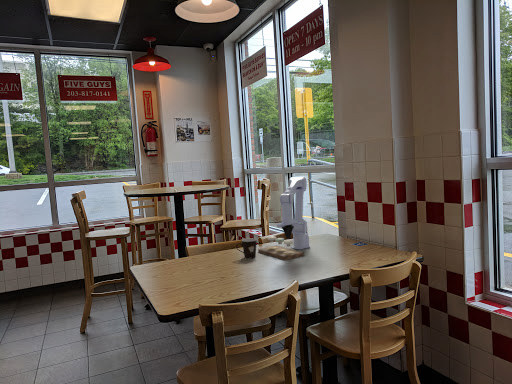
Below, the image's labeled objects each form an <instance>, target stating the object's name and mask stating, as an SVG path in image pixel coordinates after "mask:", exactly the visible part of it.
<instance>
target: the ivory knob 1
mask: <svg viewBox="0 0 512 384" xmlns="http://www.w3.org/2000/svg"><path fill="white" fill-rule="evenodd" d="M276 239H277V236H273V235H271V236H267V240H268V241H269V242H270V243H274V241H276Z"/></svg>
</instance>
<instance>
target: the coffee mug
mask: <svg viewBox="0 0 512 384" xmlns="http://www.w3.org/2000/svg"><path fill="white" fill-rule="evenodd" d="M238 245H241V246H242V249H243V250H240V249H239V248H238ZM235 248H236V250H238V251H239V252H241V253H242V254H243V255H244V258H245V259H254V258H256V257H257V256H256V255H257V238H250V237H249V238H244V239H242V240H241V242H239V243H237V244H236V246H235Z"/></svg>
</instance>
